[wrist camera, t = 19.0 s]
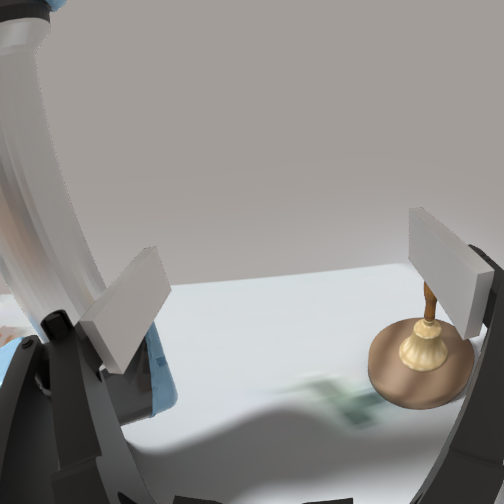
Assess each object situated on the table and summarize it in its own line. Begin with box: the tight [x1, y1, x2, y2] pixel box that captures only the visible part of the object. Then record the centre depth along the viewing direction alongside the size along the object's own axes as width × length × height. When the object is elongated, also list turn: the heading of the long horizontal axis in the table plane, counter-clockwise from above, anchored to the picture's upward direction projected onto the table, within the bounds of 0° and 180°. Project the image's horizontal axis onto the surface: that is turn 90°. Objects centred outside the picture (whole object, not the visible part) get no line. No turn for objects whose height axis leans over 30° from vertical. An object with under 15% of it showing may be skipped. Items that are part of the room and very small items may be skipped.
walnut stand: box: [368, 318, 474, 410], centre depth 41 cm, size 18×18×3 cm
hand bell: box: [399, 281, 448, 372], centre depth 37 cm, size 8×8×16 cm
